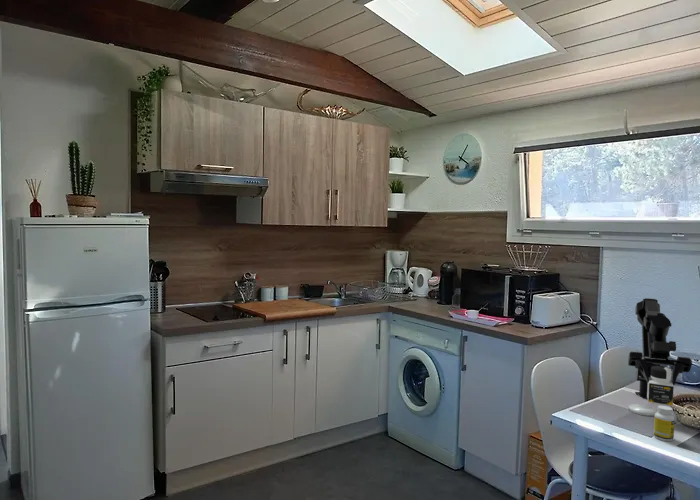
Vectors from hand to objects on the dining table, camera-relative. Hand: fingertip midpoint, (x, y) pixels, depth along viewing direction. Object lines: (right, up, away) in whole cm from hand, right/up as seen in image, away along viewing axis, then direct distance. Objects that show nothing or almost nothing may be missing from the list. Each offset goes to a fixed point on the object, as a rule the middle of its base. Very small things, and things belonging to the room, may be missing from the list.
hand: (660, 383), depth 173 cm
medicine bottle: (0, -7, +1) cm, 7 cm away
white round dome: (0, -13, +10) cm, 16 cm away
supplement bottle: (-8, -14, -14) cm, 21 cm away
